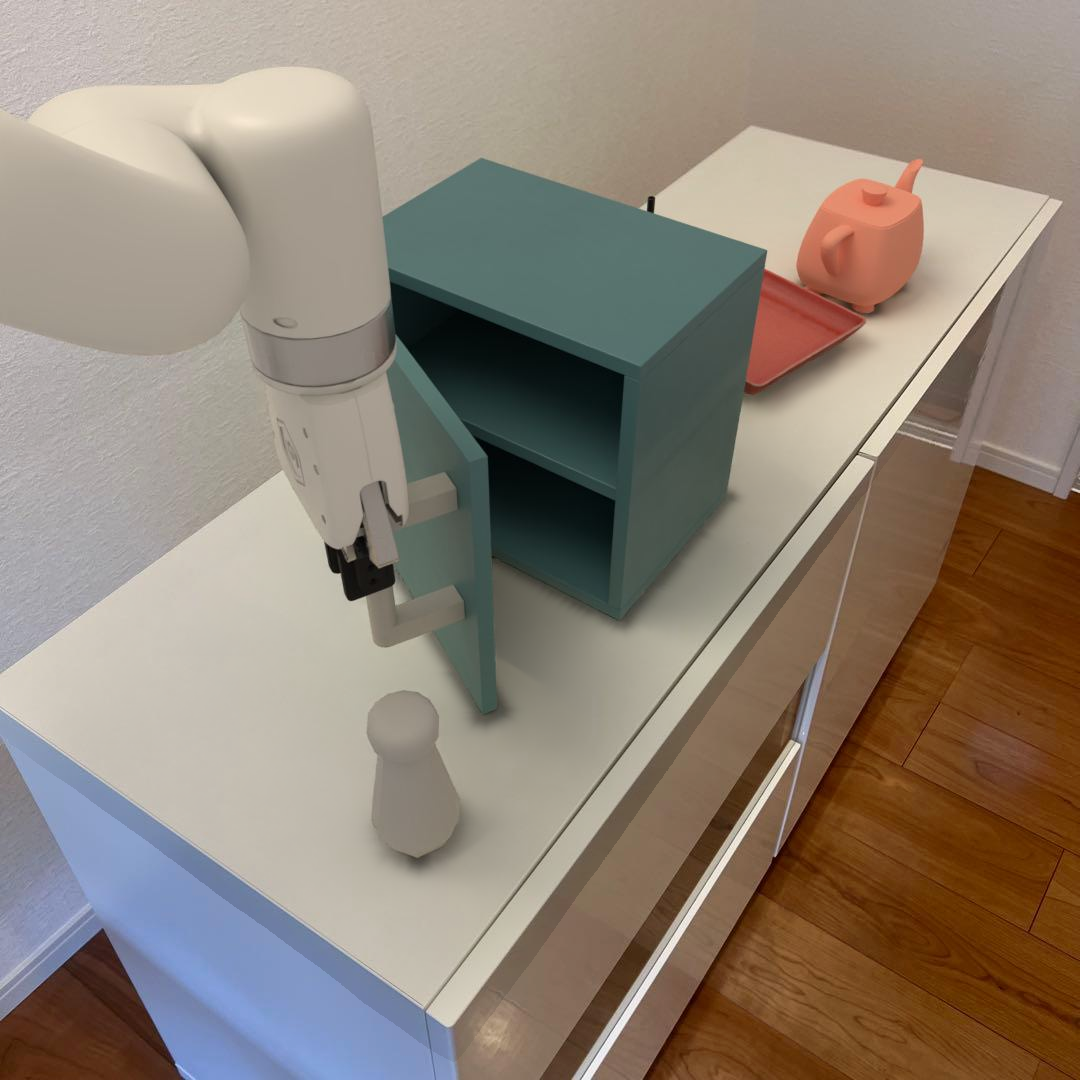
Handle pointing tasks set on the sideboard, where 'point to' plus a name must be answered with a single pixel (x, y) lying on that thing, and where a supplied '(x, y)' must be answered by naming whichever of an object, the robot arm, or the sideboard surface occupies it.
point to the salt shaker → (410, 775)
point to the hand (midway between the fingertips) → (362, 575)
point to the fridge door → (440, 535)
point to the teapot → (864, 241)
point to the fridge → (579, 366)
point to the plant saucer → (793, 330)
